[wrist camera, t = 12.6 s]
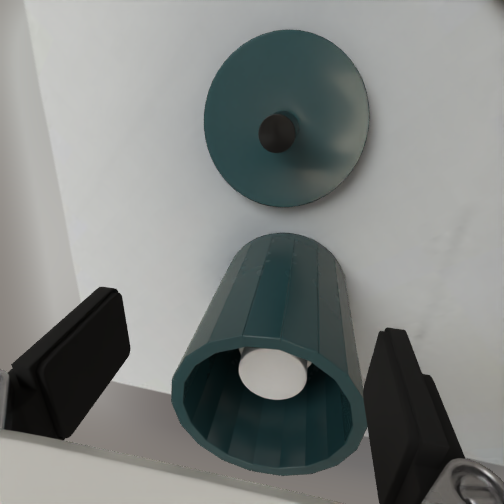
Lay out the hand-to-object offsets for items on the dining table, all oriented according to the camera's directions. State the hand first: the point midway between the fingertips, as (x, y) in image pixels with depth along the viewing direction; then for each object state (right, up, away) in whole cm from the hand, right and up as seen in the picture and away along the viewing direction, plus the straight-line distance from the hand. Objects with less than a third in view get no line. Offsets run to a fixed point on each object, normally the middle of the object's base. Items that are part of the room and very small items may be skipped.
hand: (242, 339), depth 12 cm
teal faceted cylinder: (+4, 0, +20) cm, 21 cm away
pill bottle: (+4, 0, +20) cm, 20 cm away
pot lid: (+3, +13, +14) cm, 19 cm away
